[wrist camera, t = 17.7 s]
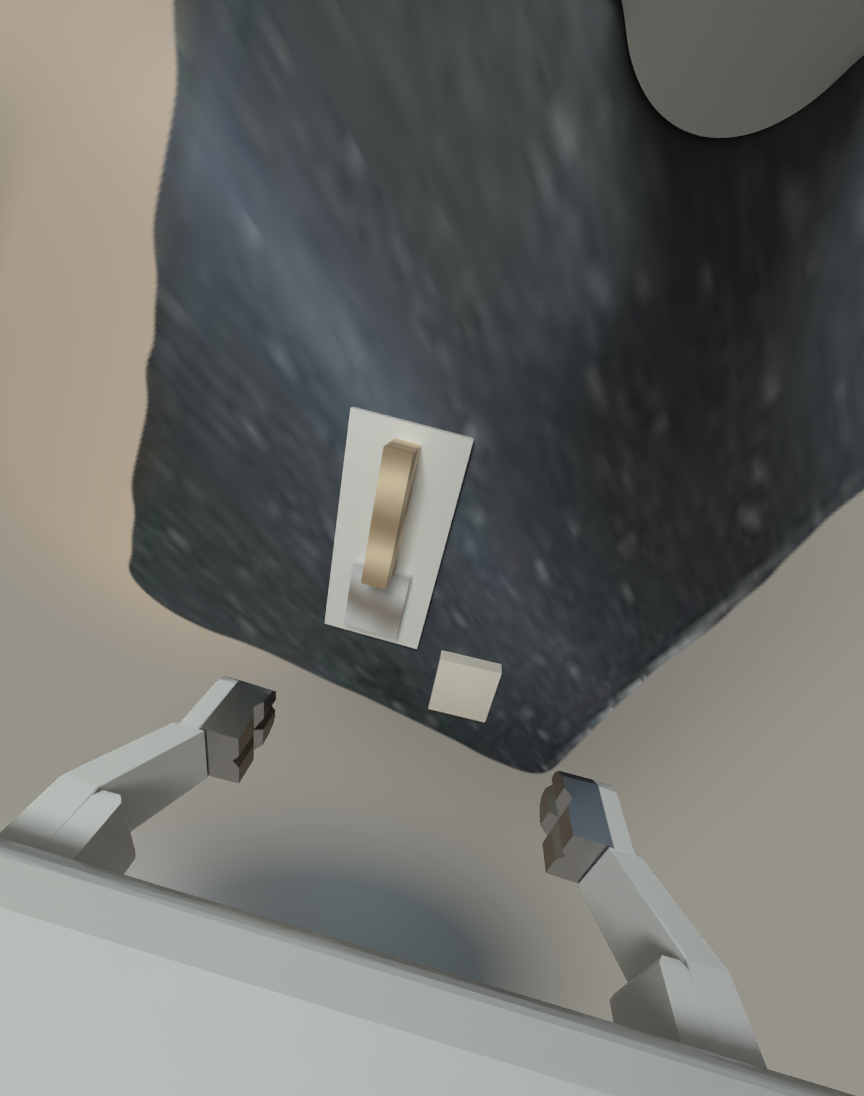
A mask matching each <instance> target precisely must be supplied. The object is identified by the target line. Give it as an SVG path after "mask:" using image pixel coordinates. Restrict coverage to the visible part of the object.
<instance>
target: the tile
mask: <svg viewBox="0 0 864 1096" xmlns="http://www.w3.org/2000/svg"><path fill="white" fill-rule="evenodd" d="M501 674H502V669H501V664H498V663H494V662H489V661H485V660H481V659H477V658H473V657H468V656H464V655H460V654H456V653H451V652H447V651H443V650H442V651H441V655H440V659H439V663H438V668H437V672H436V676H435V680H434V684H433V688H432V693H431V697H430V702H429V707H428V709H431V710H435V711H439V712H443V713H447V714H451V715H455V716H460V717H464V718H468V719H472V720H476V721H480V722H484V723H485V721H486V718H487V715H488V712H489V709H490V706H491V703H492V700H493V698H494V695H495V692H496V689H497V686H498V683H499V680H500V677H501Z"/></svg>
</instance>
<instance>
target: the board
mask: <svg viewBox="0 0 864 1096" xmlns="http://www.w3.org/2000/svg"><path fill="white" fill-rule="evenodd" d="M395 438H397V439H401V440H405V441H408V442H412V443H416V444H420V445H421V450H420V455H419V459H418V464H417V469H416V474H415V478H414V483H413V488H412V493H411V497H410V502H409V507H408V512H407V516H406V521H405V526H404V530H403V535H402V540H401V545H400V549H399V554H398V559H397V564H396V568H395V570H399V571H402V572H406V573H409V574H412V577H411V581H410V585H409V589H408V594H407V598H406V602H405V606H404V610H403V615H402V619H401V623H400V627H399V632H398V635H397V638H396V639H393V638H389V637H385V636H382V635H378V634H375V633H371V632H368V631H364V630H360V629H357V628H353V627H350V626H346V625H344V620H345V613H346V607H347V600H348V593H349V587H350V580H351V573H352V567H353V563H354V561H355V560H356V559H358V560H362V561H365V555H366V549H367V543H368V537H369V531H370V525H371V519H372V513H373V507H374V501H375V495H376V489H377V483H378V477H379V471H380V465H381V459H382V453H383V447H384V446H385V445H386V444H388V443H389V442H390V441H392V440H393V439H395ZM473 441H474V438H472V437H468V436H464V435H461V434H457V433H453V432H449V431H445V430H441V429H438V428H434V427H430V426H426V425H422V424H418V423H415V422H411V421H407V420H403V419H399V418H395V417H391V416H388V415H384V414H380V413H376V412H372V411H368V410H365V409H361V408H357V407H351V408H350V416H349V425H348V433H347V441H346V450H345V458H344V466H343V474H342V483H341V491H340V499H339V508H338V516H337V524H336V533H335V541H334V549H333V558H332V566H331V574H330V582H329V591H328V599H327V607H326V616H325V624H328V625H332V626H335V627H339V628H342V629H346V630H350V631H353V632H357V633H360V634H364V635H367V636H371V637H375V638H378V639H382V640H385V641H389V642H393V643H396V644H400V645H403V646H407V647H411V648H414V649H417V647H418V644H419V640H420V636H421V633H422V629H423V625H424V621H425V618H426V614H427V610H428V607H429V603H430V599H431V596H432V592H433V588H434V585H435V581H436V577H437V574H438V570H439V566H440V562H441V559H442V555H443V551H444V548H445V544H446V540H447V537H448V533H449V529H450V526H451V522H452V518H453V514H454V511H455V507H456V503H457V500H458V496H459V492H460V489H461V485H462V481H463V478H464V474H465V470H466V466H467V463H468V459H469V455H470V452H471V448H472V444H473Z"/></svg>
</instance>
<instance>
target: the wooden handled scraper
mask: <svg viewBox="0 0 864 1096" xmlns="http://www.w3.org/2000/svg"><path fill="white" fill-rule="evenodd" d="M420 450H421V445H420V444H416V443H412V442H408V441H405V440H401V439H397V438H395V439H393V440H392V441H390V442H389V443H388V444H386V445H385V446H384V447H383V453H382V459H381V465H380V471H379V477H378V483H377V489H376V495H375V501H374V507H373V513H372V519H371V525H370V531H369V537H368V543H367V549H366V555H365V561H362V560H358V559H356V560H355V561H354V563H353V567H352V573H351V580H350V587H349V593H348V600H347V607H346V613H345V620H344V625H346V626H350V627H353V628H357V629H360V630H364V631H368V632H371V633H375V634H378V635H382V636H385V637H389V638H393V639H396V638H397V635H398V632H399V627H400V623H401V619H402V615H403V610H404V606H405V602H406V598H407V594H408V589H409V585H410V581H411V577H412V574H409V573H406V572H402V571H399V570H395V568H396V564H397V559H398V554H399V549H400V545H401V540H402V535H403V530H404V526H405V521H406V516H407V512H408V507H409V502H410V497H411V493H412V488H413V483H414V478H415V474H416V469H417V464H418V459H419V455H420Z"/></svg>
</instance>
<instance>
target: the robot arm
mask: <svg viewBox="0 0 864 1096" xmlns="http://www.w3.org/2000/svg"><path fill="white" fill-rule="evenodd" d="M621 1H622V5H623V11H624V18H625V27H626V35H627V42H628V48H629V53H630V57H631V61H632V65H633V68H634V71H635V74H636V76H637V79H638V81H639V84H640V86H641V88H642V89H643V91H644V93H645V95H646V96H647V98H648V99H649V101H650V102H651V104H652V105H653V106H654V108H655V109H656V110H657V111H658V112H659V113H660V114H661V115H662V116H663V117H664V118H665V119H667V120H668V121H669V122H670V123H672V124H673V125H675V126H676V127H678V128H680V129H682V130H684V131H687V132H689V133H692V134H695V135H699V136H704V137H711V138H729V137H737V136H742V135H747V134H750V133H754V132H757V131H760V130H763V129H765V128H768V127H770V126H772V125H774V124H777V123H778V122H780V121H782V120H784V119H786V118H788V117H790V116H791V115H793V114H794V113H796V112H798V111H799V110H801V109H802V108H803V107H805V106H806V105H808V104H809V103H810V102H812V101H813V100H814V99H816V98H817V97H818V96H819V95H821V94H822V93H823V92H824V91H825V90H826V89H828V88H829V87H830V86H831V85H832V84H833V83H834V82H835V81H836V80H837V79H838V78H839V77H840V76H842V75H843V74H844V73H845V72H846V71H847V70H848V69H849V68H850V67H851V66H852V65H853V64H854V63H855V62H857V61H858V60H859V59H860V58H861V57H862V56H864V0H621ZM275 700H276V691H273V690H269V689H266V688H263V687H260V686H256V685H253V684H250V683H247V682H244V681H240V680H237V679H234V678H230V677H227V676H223V677H221V678H220V679H218V680H217V681H216V682H215V683H214V684H213V686H212V687H211V688H210V689H209V690H208V691H207V692H206V694H205V695H204V696H203V697H202V698H201V699H200V700H199V701H198V702H197V704H196V705H195V706H194V707H193V708H192V709H191V710H190V712H189V713H188V714H187V715H186V716H185V717H184V718H183V719H182V721H181V722H180V723H176V722H172V723H170V724H168V725H166V726H164V727H162V728H160V729H158V730H156V731H153V732H152V733H149V734H147V735H145V736H143V737H141V738H139V739H137V740H134V741H133V742H130V743H128V744H126V745H124V746H122V747H120V748H118V749H115V750H114V751H111V752H109V753H107V754H105V755H103V756H101V757H99V758H97V759H94V760H92V761H90V762H88V763H86V764H84V765H82V766H80V767H78V768H75V769H73V770H72V771H69V772H67V773H65V774H63V775H61V776H60V777H59V778H58V779H57V780H56V781H55V782H54V783H53V784H52V785H50V786H49V787H48V788H47V789H46V790H45V791H44V792H43V793H42V794H41V795H40V796H39V797H38V798H37V799H35V801H33V802H32V803H31V804H30V805H29V806H28V807H27V808H26V809H25V810H24V811H23V812H22V813H21V814H20V815H19V816H17V817H16V818H15V819H14V820H13V821H12V822H11V823H10V824H9V825H8V826H7V827H6V828H5V829H4V830H2V831H1V832H0V1096H854V1095H851V1094H848V1093H844V1092H841V1091H838V1090H835V1089H832V1088H828V1087H825V1086H821V1085H818V1084H815V1083H812V1082H808V1081H805V1080H801V1079H798V1078H795V1077H792V1076H788V1075H785V1074H782V1073H778V1072H775V1071H772V1070H769V1069H767V1067H766V1065H765V1062H764V1059H763V1057H762V1054H761V1052H760V1049H759V1047H758V1044H757V1042H756V1039H755V1037H754V1034H753V1031H752V1029H751V1026H750V1024H749V1021H748V1019H747V1016H746V1014H745V1011H744V1008H743V1006H742V1003H741V1001H740V998H739V996H738V993H737V991H736V988H735V986H734V983H733V980H732V978H731V976H730V973H729V972H728V971H727V969H726V968H725V967H724V965H723V964H722V963H721V961H720V960H719V959H718V957H717V956H716V955H715V953H714V952H713V951H712V949H711V948H710V947H709V945H708V944H707V943H706V941H705V940H704V939H703V937H702V936H701V935H700V933H699V932H698V931H697V929H696V928H695V927H694V925H693V924H692V923H691V921H690V920H689V919H688V918H687V916H686V915H685V914H684V912H683V911H682V910H681V908H680V907H679V906H678V904H677V903H676V902H675V900H674V899H673V898H672V896H671V895H670V894H669V892H668V891H667V890H666V888H665V887H664V886H663V884H662V883H661V882H660V880H659V879H658V878H657V876H656V875H655V874H654V872H653V871H652V870H651V869H650V867H649V866H648V865H647V863H646V862H645V861H644V859H643V858H642V857H641V856H638V855H636V854H635V851H634V847H633V844H632V841H631V837H630V834H629V831H628V827H627V825H626V821H625V818H624V814H623V811H622V808H621V805H620V801H619V798H618V794H617V791H616V790H615V788H614V787H613V786H611V785H608V784H604V783H600V782H597V781H593V780H592V779H587V778H584V777H580V776H576V775H573V774H569V773H565V772H561V771H557V772H555V774H554V775H553V777H552V783H553V785H551V786H549V787H547V788H546V789H545V790H544V792H543V794H542V798H541V803H540V823H541V826H542V828H543V829H544V831H545V833H546V834H547V837H546V839H545V840H544V842H543V851H544V860H545V868H546V873H548V874H551V875H555V876H557V877H560V878H563V879H567V880H570V881H573V882H576V883H579V884H578V887H579V889H580V891H581V892H582V895H583V896H584V898H585V900H586V902H587V904H588V906H589V908H590V910H591V912H592V914H593V916H594V918H595V920H596V922H597V924H598V925H599V927H600V929H601V931H602V933H603V935H604V937H605V939H606V941H607V943H608V945H609V947H610V949H611V951H612V953H613V955H614V957H615V959H616V961H617V962H618V964H619V966H620V968H621V970H622V972H623V974H624V976H625V978H626V980H627V982H628V983H627V984H626V985H624V986H623V987H622V988H621V989H619V990H618V991H617V992H616V993H614V995H613V996H612V998H611V999H610V1005H611V1010H612V1016H613V1022H614V1023H613V1022H610V1021H606V1020H603V1019H600V1018H597V1017H593V1016H590V1015H587V1014H583V1013H580V1012H577V1011H573V1010H570V1009H567V1008H563V1007H560V1006H557V1005H554V1004H550V1003H547V1002H543V1001H540V1000H537V999H534V998H530V997H527V996H524V995H520V994H517V993H514V992H510V991H507V990H504V989H500V988H497V987H494V986H490V985H487V984H484V983H481V982H477V981H473V980H471V979H467V978H464V977H461V976H458V975H454V974H451V973H448V972H444V971H441V970H438V969H434V968H431V967H428V966H424V965H421V964H418V963H414V962H411V961H408V960H404V959H401V958H398V957H395V956H391V955H388V954H385V953H381V952H378V951H375V950H371V949H368V948H365V947H361V946H358V945H355V944H352V943H348V942H345V941H342V940H338V939H335V938H332V937H328V936H325V935H322V934H318V933H315V932H312V931H309V930H305V929H302V928H299V927H295V926H292V925H289V924H285V923H282V922H279V921H276V920H272V919H269V918H265V917H262V916H259V915H256V914H252V913H249V912H245V911H242V910H239V909H236V908H232V907H229V906H226V905H222V904H219V903H216V902H212V901H209V900H206V899H203V898H199V897H196V896H193V895H189V894H186V893H183V892H179V891H176V890H173V889H169V888H166V887H163V886H160V885H156V884H153V883H149V882H146V881H143V880H140V879H136V878H133V877H130V876H126V875H124V873H125V872H126V870H127V869H128V868H129V866H130V865H131V863H132V862H133V861H134V859H135V848H134V844H133V841H132V837H131V833H130V832H131V831H132V830H134V829H135V828H136V827H138V826H139V825H140V824H142V823H143V822H145V821H146V820H148V819H149V818H151V817H152V816H153V815H155V814H156V813H158V812H159V811H161V810H162V809H163V808H165V807H166V806H168V805H169V804H170V803H172V802H173V801H175V800H176V799H178V798H179V797H180V796H182V795H183V794H185V793H186V792H188V791H189V790H190V789H192V788H193V787H195V786H196V785H198V784H199V783H200V782H202V781H203V780H205V779H206V778H207V777H208V775H209V776H213V777H216V778H221V779H224V780H228V781H232V782H236V783H239V782H240V781H241V779H242V778H243V776H244V774H245V773H246V771H247V769H248V768H249V766H250V765H251V763H252V761H253V756H254V750H255V749H256V748H258V747H260V746H261V745H263V743H264V742H265V740H266V738H267V736H268V735H269V732H270V729H271V727H272V725H273V722H274V718H275V709H274V708H273V707H272V705H273V703H274V702H275Z"/></svg>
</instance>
